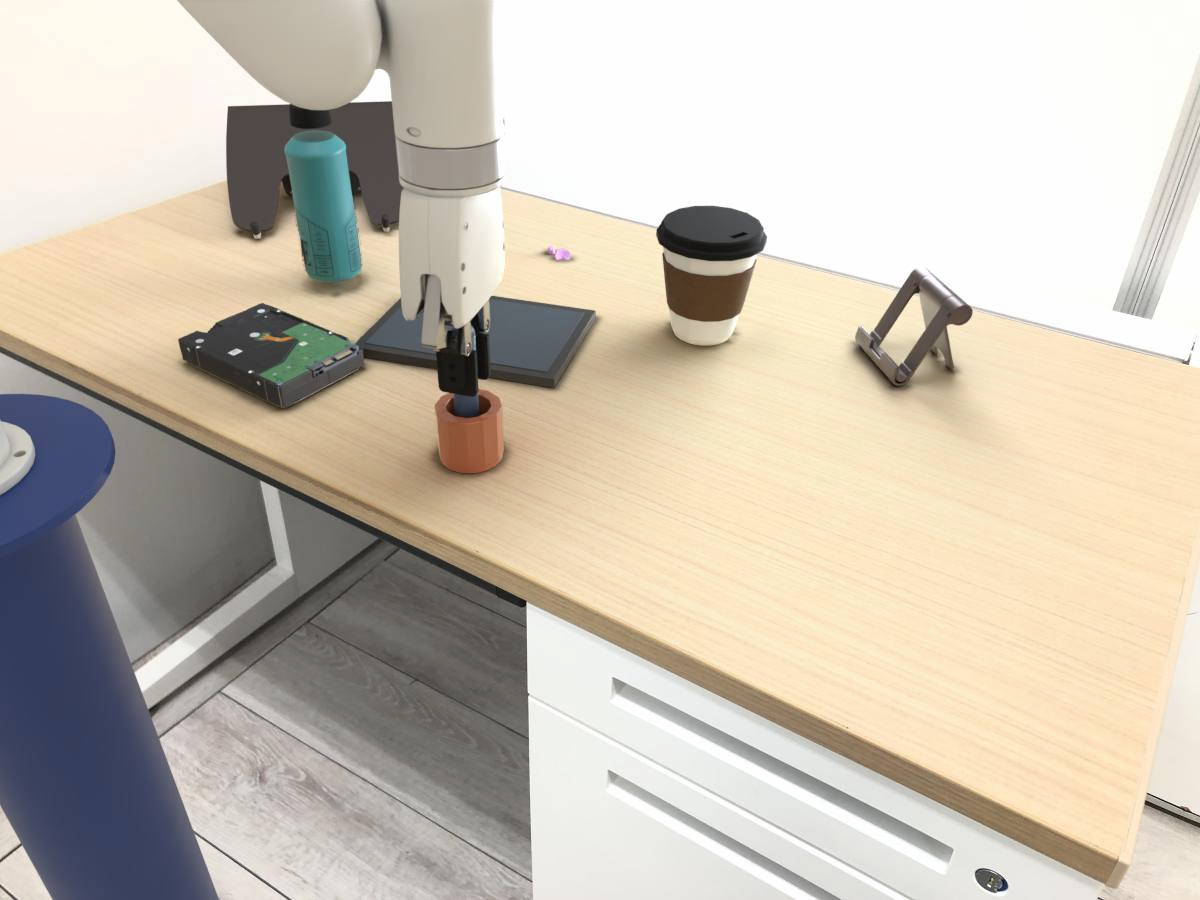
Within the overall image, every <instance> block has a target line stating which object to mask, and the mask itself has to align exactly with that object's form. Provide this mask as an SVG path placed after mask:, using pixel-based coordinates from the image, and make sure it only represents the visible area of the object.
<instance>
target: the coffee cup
mask: <svg viewBox="0 0 1200 900" xmlns="http://www.w3.org/2000/svg"><path fill="white" fill-rule="evenodd" d="M655 231H656V233H655V236H656V239H657V242H658V244H659V245H660V246H662V248H663V252H662V253H661V254H662V255H661V257H662V265H663V275H664V276H663V277H664V286H665V296H666V304H667V307H668V310H669V321H670V323H669V324H670V325H671V329H672V331H673V333H674V336H675V337H676V338H678V339H679V340H681V341H682V342H684V343H688V344H689V345H696V346H701V347H702V346H704V347H705V346H706V347H707V346H708V347H709V346H717V345H720V344H723V343H725V342H726V341H728V340H729V339H730V338H731V336H732V335H733V333H734V331H735V329H736V326H737V322H738V320H739V316H740V314H741V313H742V310H743V308H744V306H745V303H746V297H747V294H748V291H749V287H750V284H751V282H752V278H753V275H754V271H755V267H756V264H757V261H758V260H757V255H758V254H760V253H761V252H763V251H764V250H765V247H766V244H767V241H768V236H767V234H766V233H765V228H764V226H763V224H762V223H761V221H760V220H759V218H756V217H755V216H753V215H752V214H749V213H748V212H745V211H742V210H738V209H735V208H733V207H725V206H717V205H692V206H687V207H680V208H677V209H675V210H673V211H670V212H668V213H666V214H665V216H664V217H663V218H662V220H661V221H660V224H659V225H658V227H657V228H656V230H655Z"/></svg>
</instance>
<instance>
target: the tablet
mask: <svg viewBox="0 0 1200 900" xmlns="http://www.w3.org/2000/svg"><path fill="white" fill-rule="evenodd" d="M490 300H491V301H490V303H489V306H490V328H489V331H488V332H483V334H489V345H490V369H491V375H490V376H489V378H490V379H495V380H502V381H509V382H515V383H521V384H527V385H531V386H532V385H534V386H539V387H545V388H552V389H555V387H556V386H557V384H558V383H559V381H560V379H561V378H562V376H563V374H564V372H565V371H566V369H567V368H568V366H569V364H570V363H571V361H572V359H573V357H574V356H575V354H576V353H577V351H578V349H579V347H580V345H581V344H582V342H583V341H584V339H585V337H586V336H587V334H588V332H589V331H590V329H591V327H592V325H593V324H594V322H595V321H596V318H597V311H596V310H594V309H588V308H580V307H574V306H567V305H559V304H552V303H545V302H540V301H539V302H538V301H534V300H533V301H532V300H524V299H519V298H511V297H504V296H497V295H492V296H491V298H490ZM423 316H424V312H423V313H422V314H421V315H420V316H419V317H418V318H417V319H416V320H415V321H407V320H406V319H405V318H404V316H403V313H402V305H401V297H399V299H398V300H397V301H396V302H394V303H393V305H392V306H391V307H390V308H389V309H388V310H387V311H386V312H385V313H383V315H381V317H380V318H378V320H376V321H375V322H374V324H373V325H371V327H370V328H369V329H367V331H365V332H364V334H363V335H361V336H360V338H359V339H358V340H357V341H355V343H356V345H358V347H359V348H360V349H363V357H364V358H367V359H374V360H378V361H385V362H392V363H396V364H402V365H403V364H404V365H410V366H415V367H422V368H427V369H428V368H429V369H433V370H434V369H435V370H437V358H436V351H434V349H433V348H428V347H423V346H422V344H421V339H422V328H423ZM451 327H452V326H448V325H445V330H450V329H451ZM489 378H488V379H489Z"/></svg>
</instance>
